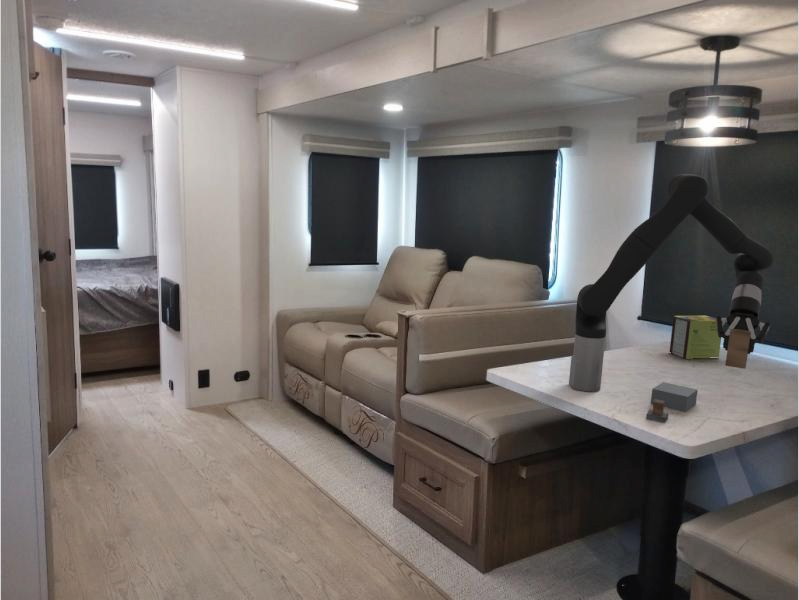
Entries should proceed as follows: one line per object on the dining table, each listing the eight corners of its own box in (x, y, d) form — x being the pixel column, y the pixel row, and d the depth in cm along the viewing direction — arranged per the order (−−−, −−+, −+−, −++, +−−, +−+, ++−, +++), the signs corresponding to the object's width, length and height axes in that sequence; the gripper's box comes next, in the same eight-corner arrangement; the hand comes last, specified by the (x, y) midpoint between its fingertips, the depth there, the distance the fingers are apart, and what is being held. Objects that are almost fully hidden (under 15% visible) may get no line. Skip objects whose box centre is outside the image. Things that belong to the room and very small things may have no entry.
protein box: (719, 358, 244) (724, 320, 242) (685, 359, 241) (690, 320, 238) (700, 352, 254) (705, 315, 252) (668, 352, 251) (672, 315, 248)
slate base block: (661, 397, 193) (663, 382, 192) (695, 405, 186) (697, 389, 186) (650, 404, 185) (652, 388, 184) (685, 413, 179) (687, 396, 178)
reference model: (649, 413, 176) (651, 397, 175) (668, 417, 173) (670, 400, 173) (646, 418, 172) (647, 401, 171) (665, 422, 169) (667, 405, 168)
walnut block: (726, 361, 179) (731, 328, 177) (746, 365, 177) (751, 331, 175) (725, 365, 175) (730, 331, 173) (745, 368, 172) (750, 333, 171)
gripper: (719, 292, 182) (709, 339, 174) (775, 298, 175) (768, 347, 167) (718, 307, 188) (709, 353, 180) (772, 314, 180) (765, 362, 172)
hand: (737, 350), depth 173 cm, fingers closed on walnut block, 5 cm apart
